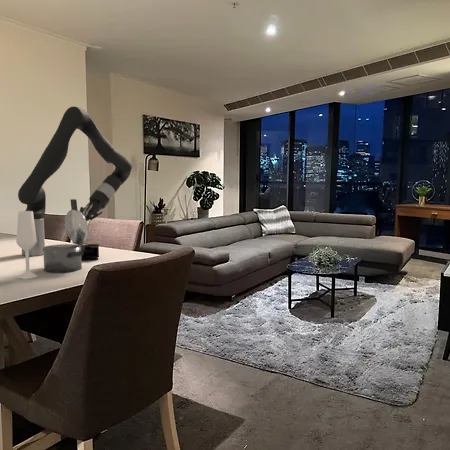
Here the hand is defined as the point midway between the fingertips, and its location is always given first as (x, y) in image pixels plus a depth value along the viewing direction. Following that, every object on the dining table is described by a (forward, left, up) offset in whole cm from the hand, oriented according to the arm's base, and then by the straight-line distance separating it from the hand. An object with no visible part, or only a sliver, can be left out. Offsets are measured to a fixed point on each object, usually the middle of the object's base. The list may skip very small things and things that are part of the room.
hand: (78, 226), depth 165 cm
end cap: (-1, +15, -17) cm, 23 cm away
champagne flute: (-13, -19, -17) cm, 29 cm away
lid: (-1, -1, +2) cm, 2 cm away
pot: (-5, -6, -17) cm, 18 cm away
